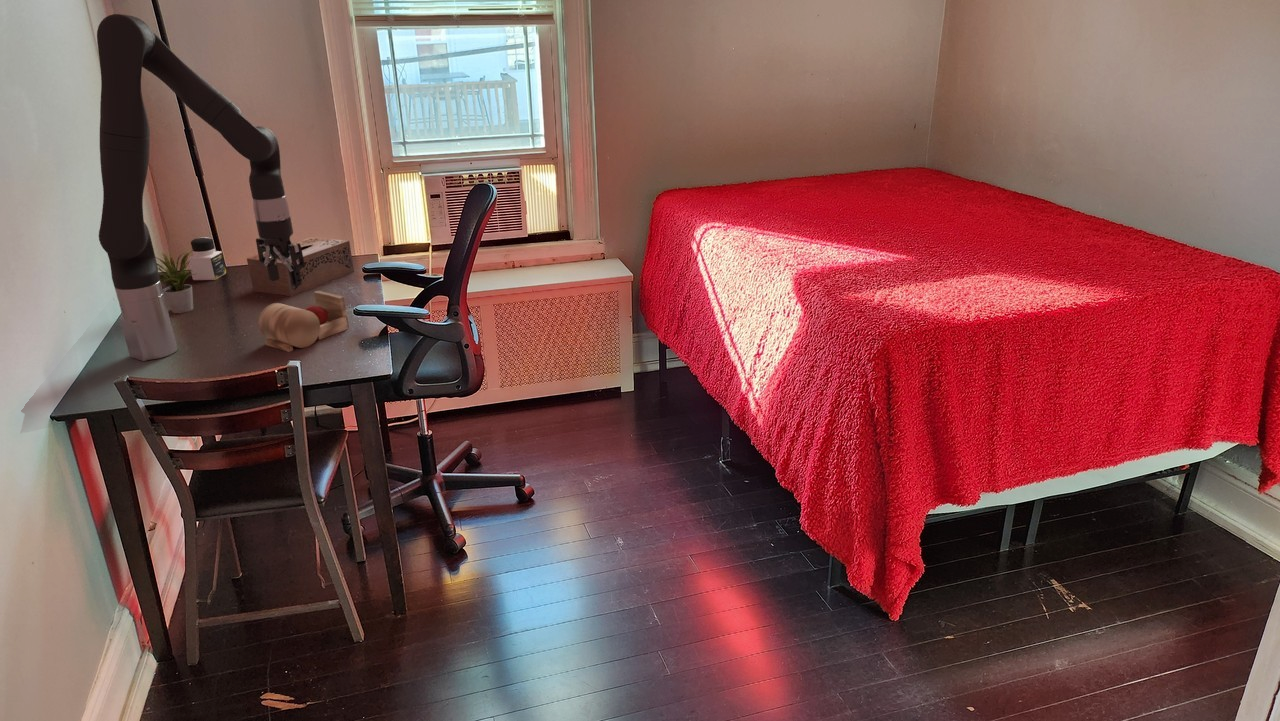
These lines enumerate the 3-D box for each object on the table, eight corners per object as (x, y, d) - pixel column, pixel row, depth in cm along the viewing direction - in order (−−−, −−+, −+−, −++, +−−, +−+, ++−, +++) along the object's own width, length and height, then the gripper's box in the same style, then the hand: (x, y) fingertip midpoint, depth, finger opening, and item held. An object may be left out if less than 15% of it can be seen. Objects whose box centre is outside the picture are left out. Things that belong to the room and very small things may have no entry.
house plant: (180, 298, 237) (166, 242, 230) (223, 301, 234) (210, 244, 228) (143, 316, 224) (127, 256, 217) (188, 318, 221) (173, 258, 215)
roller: (323, 340, 204) (316, 305, 200) (291, 352, 197) (283, 316, 193) (294, 332, 209) (288, 298, 206) (262, 344, 203) (255, 309, 199)
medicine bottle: (216, 280, 253) (207, 241, 248) (192, 280, 253) (183, 241, 248) (227, 273, 259) (218, 235, 255) (204, 273, 260) (195, 235, 255)
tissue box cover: (291, 297, 237) (284, 263, 233) (253, 291, 242) (246, 258, 238) (354, 272, 258) (349, 240, 254) (318, 267, 264) (313, 236, 260)
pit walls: (319, 339, 204) (313, 308, 201) (288, 330, 211) (282, 300, 208) (352, 327, 212) (346, 297, 209) (320, 319, 218) (315, 289, 215)
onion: (310, 318, 204) (336, 307, 210) (294, 307, 205) (321, 297, 212) (309, 337, 207) (335, 326, 213) (293, 326, 209) (320, 315, 215)
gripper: (239, 216, 195) (253, 282, 201) (277, 223, 188) (290, 291, 194) (268, 209, 201) (281, 274, 207) (305, 216, 194) (318, 283, 200)
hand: (285, 283), depth 201 cm, fingers open, 8 cm apart
